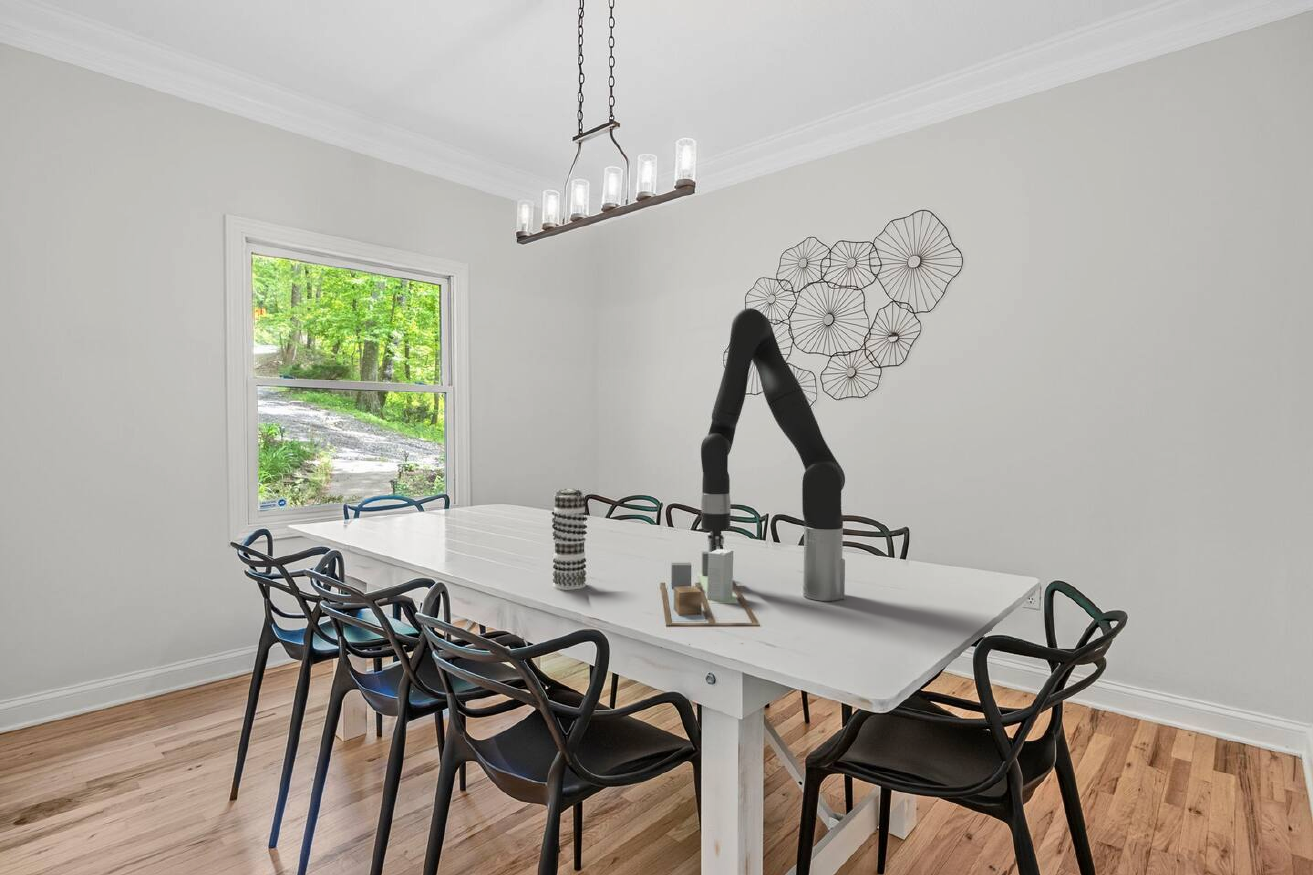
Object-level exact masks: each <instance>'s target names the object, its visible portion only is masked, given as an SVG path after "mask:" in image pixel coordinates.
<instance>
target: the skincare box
mask: <svg viewBox="0 0 1313 875" xmlns="http://www.w3.org/2000/svg"><path fill="white" fill-rule="evenodd" d="M733 578H734V550H733V549H724V548H723V549H717V550H715V551H712V552H710V553H708V585H707V595H706V600H707V601H708V600H714V601H721V602H724V601H726V600H727V599H729V598H731V597H732V596H733V593H734V589H733V583H734V579H733Z"/></svg>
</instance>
